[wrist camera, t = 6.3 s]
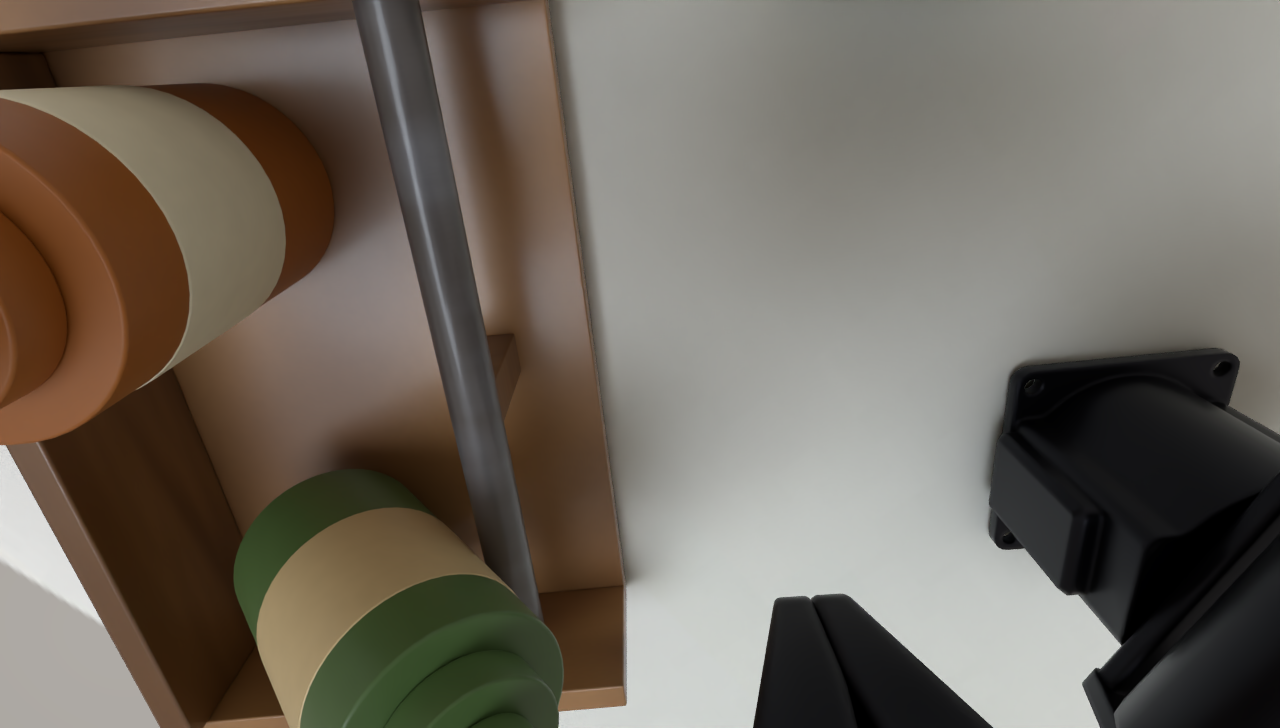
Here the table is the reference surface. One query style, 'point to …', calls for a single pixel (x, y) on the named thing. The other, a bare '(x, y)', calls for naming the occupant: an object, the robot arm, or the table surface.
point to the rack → (352, 335)
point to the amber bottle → (139, 237)
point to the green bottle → (387, 615)
